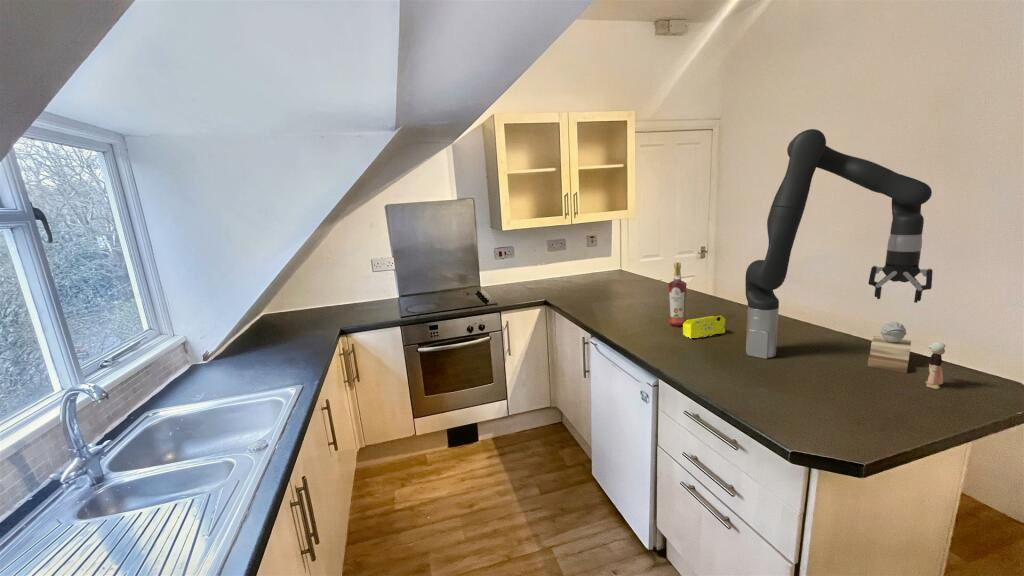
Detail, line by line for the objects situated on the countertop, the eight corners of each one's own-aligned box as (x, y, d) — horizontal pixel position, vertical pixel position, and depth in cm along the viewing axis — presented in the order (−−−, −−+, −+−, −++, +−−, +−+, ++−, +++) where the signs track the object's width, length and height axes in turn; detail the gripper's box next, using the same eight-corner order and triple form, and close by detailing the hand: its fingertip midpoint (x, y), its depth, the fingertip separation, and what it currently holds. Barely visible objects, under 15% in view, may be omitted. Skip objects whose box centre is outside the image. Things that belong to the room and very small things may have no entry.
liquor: (687, 323, 184) (688, 261, 178) (684, 328, 178) (685, 264, 172) (670, 321, 188) (670, 261, 182) (666, 326, 182) (666, 264, 176)
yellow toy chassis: (691, 341, 163) (691, 321, 161) (682, 336, 169) (682, 317, 167) (725, 335, 167) (726, 315, 165) (715, 331, 172) (716, 311, 170)
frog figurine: (883, 345, 130) (885, 324, 128) (875, 338, 136) (878, 317, 135) (908, 346, 127) (911, 325, 126) (899, 339, 133) (902, 318, 132)
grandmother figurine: (946, 391, 112) (953, 347, 109) (927, 389, 114) (933, 346, 111) (937, 380, 118) (944, 338, 115) (919, 378, 120) (925, 337, 117)
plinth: (906, 373, 123) (909, 354, 122) (867, 366, 130) (869, 348, 128) (908, 358, 133) (911, 340, 132) (872, 352, 139) (874, 335, 138)
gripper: (871, 249, 128) (865, 300, 131) (937, 251, 117) (928, 306, 121) (874, 246, 133) (868, 295, 136) (937, 248, 123) (929, 300, 126)
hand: (896, 300), depth 128 cm, fingers open, 8 cm apart
